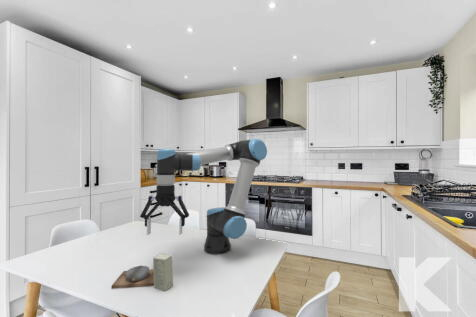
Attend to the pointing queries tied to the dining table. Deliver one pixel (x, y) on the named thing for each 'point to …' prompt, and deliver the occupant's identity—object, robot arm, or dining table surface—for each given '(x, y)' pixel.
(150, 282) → the bayonet base
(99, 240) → the dining table surface
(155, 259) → the skincare box
